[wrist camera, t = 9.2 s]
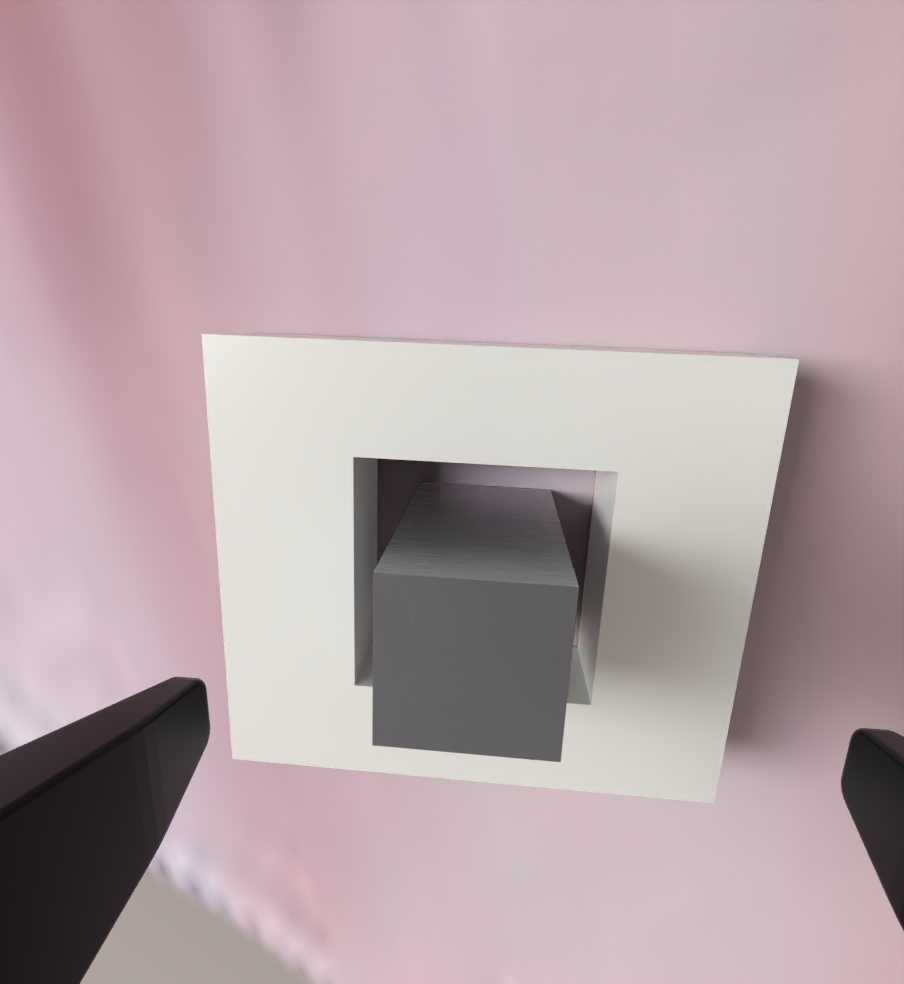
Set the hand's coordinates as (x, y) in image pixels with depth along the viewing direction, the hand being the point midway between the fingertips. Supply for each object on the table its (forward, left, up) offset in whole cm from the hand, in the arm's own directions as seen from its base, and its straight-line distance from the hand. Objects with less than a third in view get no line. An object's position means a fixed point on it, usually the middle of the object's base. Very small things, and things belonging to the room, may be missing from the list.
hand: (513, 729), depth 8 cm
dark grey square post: (+1, +2, -13) cm, 13 cm away
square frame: (+1, +2, -13) cm, 13 cm away
